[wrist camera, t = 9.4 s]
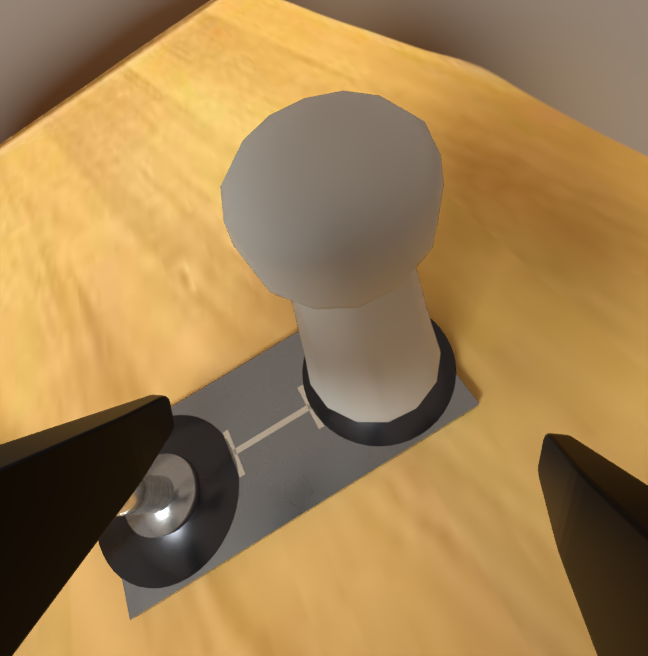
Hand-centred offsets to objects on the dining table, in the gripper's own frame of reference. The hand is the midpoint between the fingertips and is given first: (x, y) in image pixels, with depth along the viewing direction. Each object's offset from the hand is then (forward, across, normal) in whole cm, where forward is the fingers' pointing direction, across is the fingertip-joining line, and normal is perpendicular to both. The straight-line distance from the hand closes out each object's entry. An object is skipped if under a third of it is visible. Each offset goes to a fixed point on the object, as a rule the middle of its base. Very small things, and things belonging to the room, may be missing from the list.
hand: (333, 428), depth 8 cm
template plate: (+7, +5, +6) cm, 10 cm away
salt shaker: (+9, 0, +3) cm, 10 cm away
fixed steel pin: (+5, +10, +8) cm, 14 cm away
